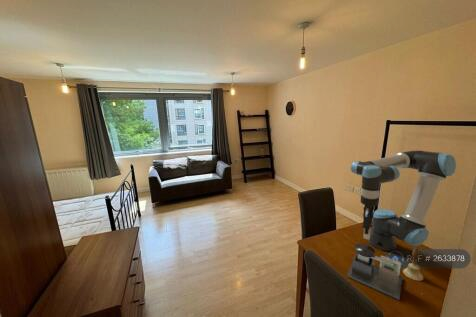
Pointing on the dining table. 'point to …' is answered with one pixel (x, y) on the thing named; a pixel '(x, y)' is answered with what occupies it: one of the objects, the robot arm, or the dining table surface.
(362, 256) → the black ball joystick
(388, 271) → the press stand
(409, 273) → the hand bell
